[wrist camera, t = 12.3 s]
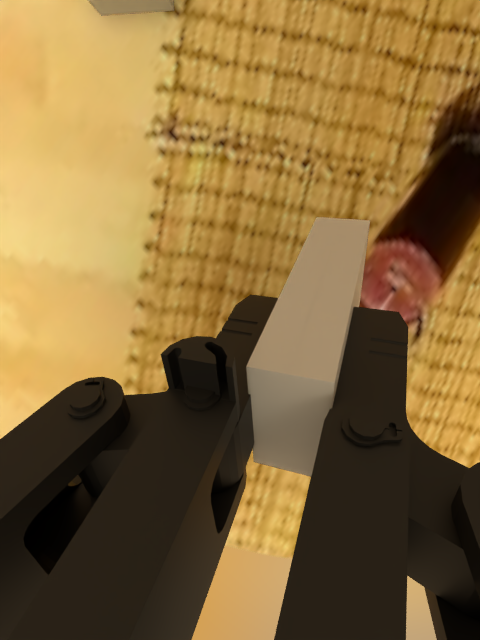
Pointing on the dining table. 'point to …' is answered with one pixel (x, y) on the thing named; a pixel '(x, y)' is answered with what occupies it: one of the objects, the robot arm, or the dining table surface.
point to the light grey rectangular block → (131, 6)
